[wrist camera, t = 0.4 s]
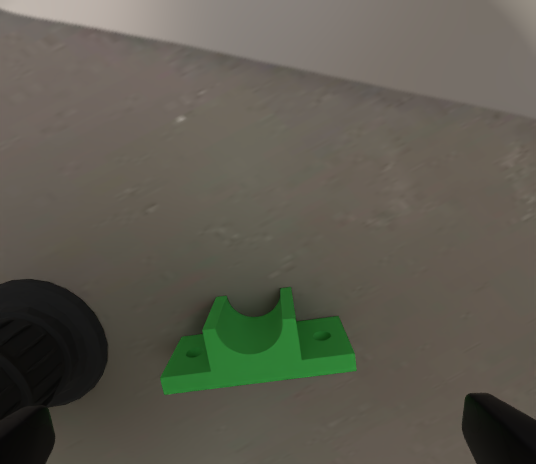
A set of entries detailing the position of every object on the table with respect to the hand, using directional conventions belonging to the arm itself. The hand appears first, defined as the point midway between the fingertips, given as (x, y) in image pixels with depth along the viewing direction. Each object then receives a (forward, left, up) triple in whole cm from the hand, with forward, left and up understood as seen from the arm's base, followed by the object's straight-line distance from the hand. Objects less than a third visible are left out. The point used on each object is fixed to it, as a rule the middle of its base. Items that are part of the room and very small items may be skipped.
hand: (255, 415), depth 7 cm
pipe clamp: (-5, +1, -15) cm, 16 cm away
